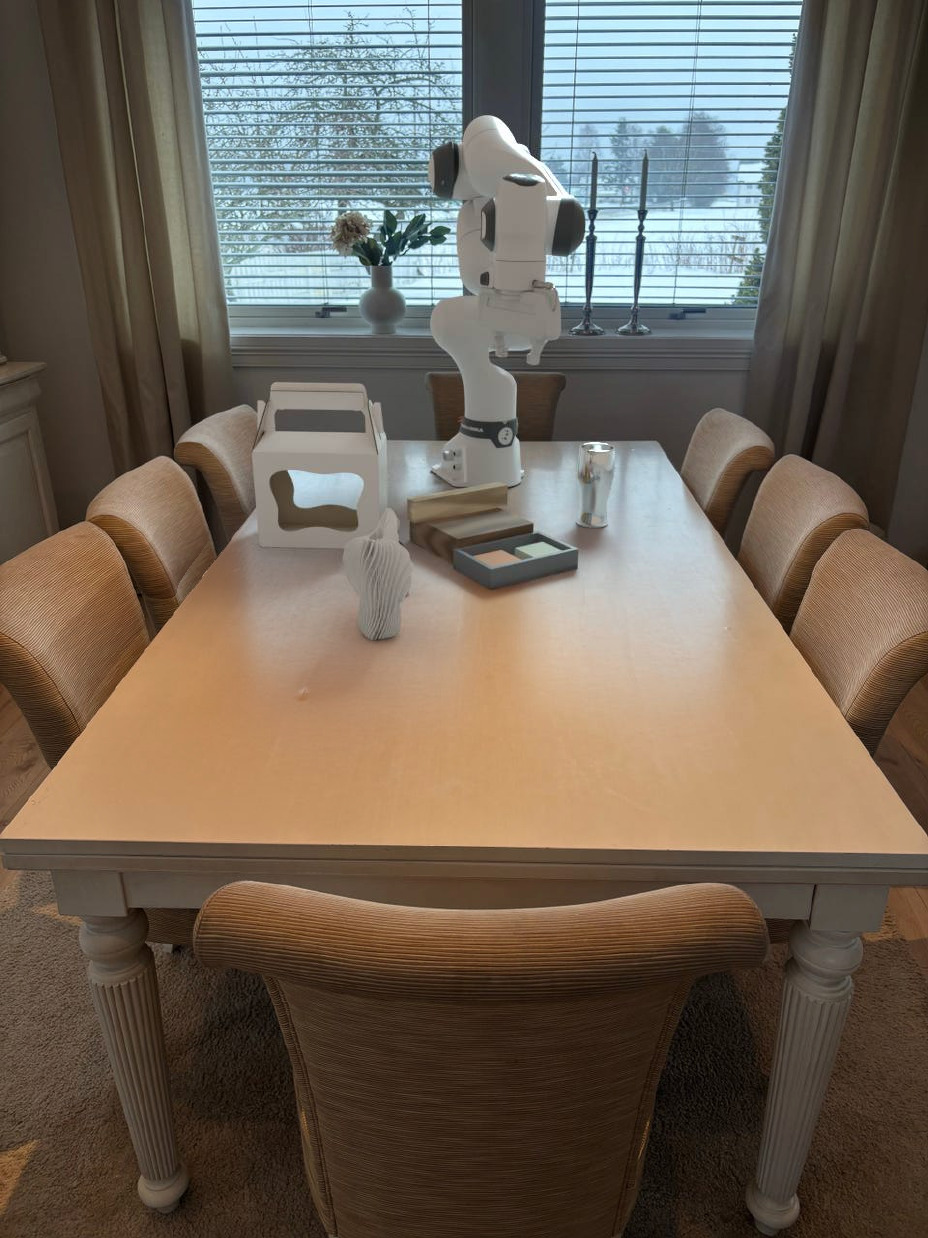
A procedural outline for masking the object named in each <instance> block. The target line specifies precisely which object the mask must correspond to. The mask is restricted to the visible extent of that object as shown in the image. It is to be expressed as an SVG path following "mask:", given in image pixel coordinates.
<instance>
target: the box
mask: <svg viewBox="0 0 928 1238" xmlns="http://www.w3.org/2000/svg"><path fill="white" fill-rule="evenodd" d="M539 542H544V543H546V544H549V545H551V546H553V547H555V548H557V549H560V550H562V551H559V552H554V553H550V554H546V555H541V556H537V557H533V558H528V559H524V560H520V561H516V562H511V563H507V564H503V565H498V566H494V567H492V566H490V565H488V564H486V563H484V562H482V561H480V560H479V559H477V558H475V557H473V556H476V555H481V554H485V553H490V552H494V551H499V550H503V551H505V552H507V553H509V554H511V555H513V556H515V548H517V547H522V546H526V545H531V544H535V543H539ZM579 552H580V549H579V548H578V547H575V546H573V545H571V544H569V543H567V542H565V541H562V540H560V539H558V538H555V537H553V536H551V535H549V534H547V533H544V532H542V531H540V530H536V531H533V532H531V533H526V534H522V535H517V536H512V537H508V538H503V539H499V540H494V541H489V542H485V543H480V544H475V545H471V546H466V547H461V548H457V549H454V559H453V564H452V565H453V570H455V571H457V572H458V573H461V574H462V575H463V576H466V577H467V578H468V579H471V580H473V581H474V582H476V583H478V584H480V585H482V586H484V587H485V588H487V589H489V590H491V591H492V590H495V589H500V588H503V587H507V586H510V585H515V584H516V585H517V584H520V583H523V582H527V581H532V580H536V579H540V578H544V577H548V576H551V575H556V574H561V573H565V572H568V571H571V570H577V569H578V567H579V566H578V565H579V564H578V562H579V554H580V553H579Z"/></svg>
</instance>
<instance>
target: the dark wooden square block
mask: <svg viewBox="0 0 928 1238" xmlns="http://www.w3.org/2000/svg"><path fill="white" fill-rule="evenodd" d="M408 522H409V541H411V542H413V543H414V544H416V545H418V546H419V547H422V548H423V549H424V550H426V551H428V552H429V553H431V554H433V555H435V556H437V557H438V558H441V559H442V560H444V561H446V562H448V563H450V564H451V565H453V559H454V549H457V548H461V547H466V546H471V545H475V544H480V543H485V542H489V541H494V540H499V539H503V538H508V537H512V536H517V535H522V534H526V533H531V532H534V526H535V525H534V522H532V521H529V520H527V519H525V518H523V517H521V516H519V515H517V514H514V513H512V512H510V511H507V510H505V509H504V508H503V509H502V507H498V508H493V509H488V510H483V511H478V512H472V513H467V514H462V515H457V516H452V517H446V518H441V519H436V520H431V521H426V522H420V523H415V524H414V523H412V522H411V521H409V520H408Z"/></svg>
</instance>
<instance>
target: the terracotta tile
mask: <svg viewBox="0 0 928 1238" xmlns="http://www.w3.org/2000/svg"><path fill="white" fill-rule="evenodd" d="M473 557H475V558H477V559H479V560H480V561H482V562H484V563H486V564H488V565H490V566H492V567H494V566H498V565H503V564H507V563H511V562H516V561H520V560H521V559H519V558H517V557H515V556H513V555H511V554H509V553H507V552H505V551H503V550H499V551H494V552H490V553H485V554H481V555H476V556H473Z"/></svg>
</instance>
